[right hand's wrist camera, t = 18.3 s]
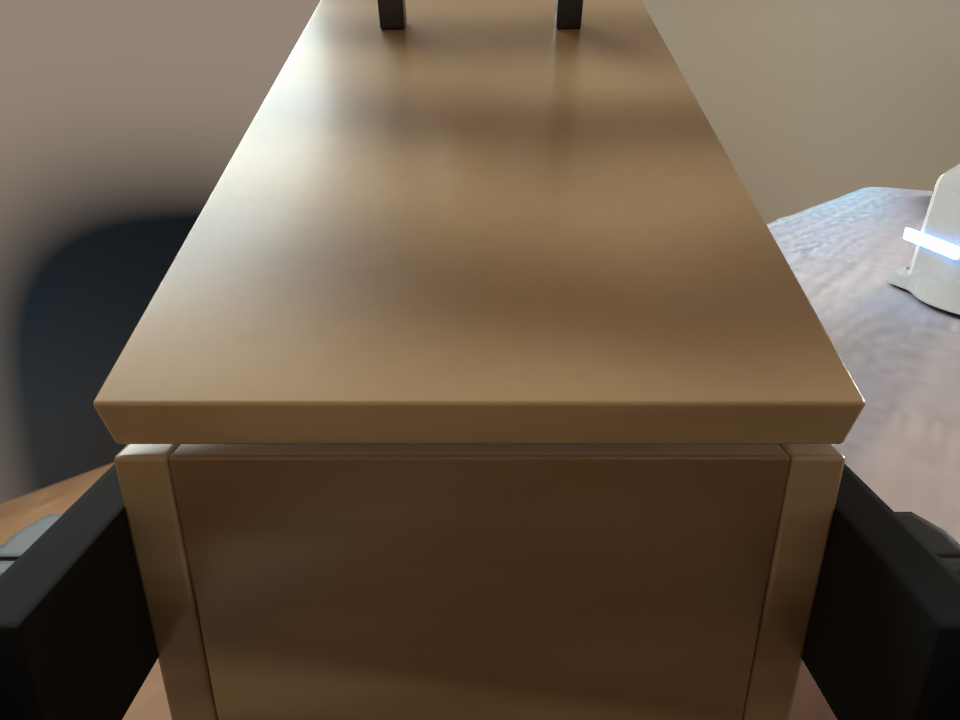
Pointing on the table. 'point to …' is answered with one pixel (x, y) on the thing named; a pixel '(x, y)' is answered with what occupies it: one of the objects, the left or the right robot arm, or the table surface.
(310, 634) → the chest
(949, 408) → the table surface
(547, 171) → the lid
